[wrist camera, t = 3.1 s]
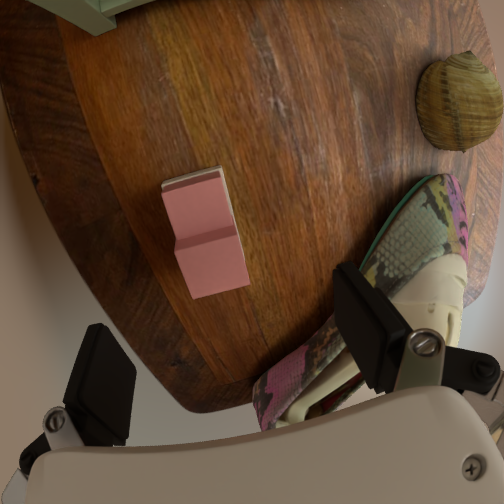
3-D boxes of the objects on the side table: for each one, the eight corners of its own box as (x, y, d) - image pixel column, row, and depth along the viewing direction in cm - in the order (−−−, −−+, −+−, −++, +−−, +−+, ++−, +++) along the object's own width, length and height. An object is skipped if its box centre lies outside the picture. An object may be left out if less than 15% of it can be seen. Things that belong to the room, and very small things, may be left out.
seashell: (424, 133, 23) (495, 146, 18) (415, 164, 20) (502, 183, 15) (414, 41, 17) (494, 52, 12) (404, 49, 14) (509, 64, 9)
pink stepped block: (243, 254, 22) (253, 287, 18) (192, 268, 21) (192, 302, 18) (221, 164, 18) (226, 179, 14) (162, 181, 18) (153, 200, 14)
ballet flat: (466, 211, 24) (540, 262, 14) (293, 400, 33) (317, 472, 24) (422, 145, 19) (526, 187, 10) (222, 383, 29) (236, 473, 19)
